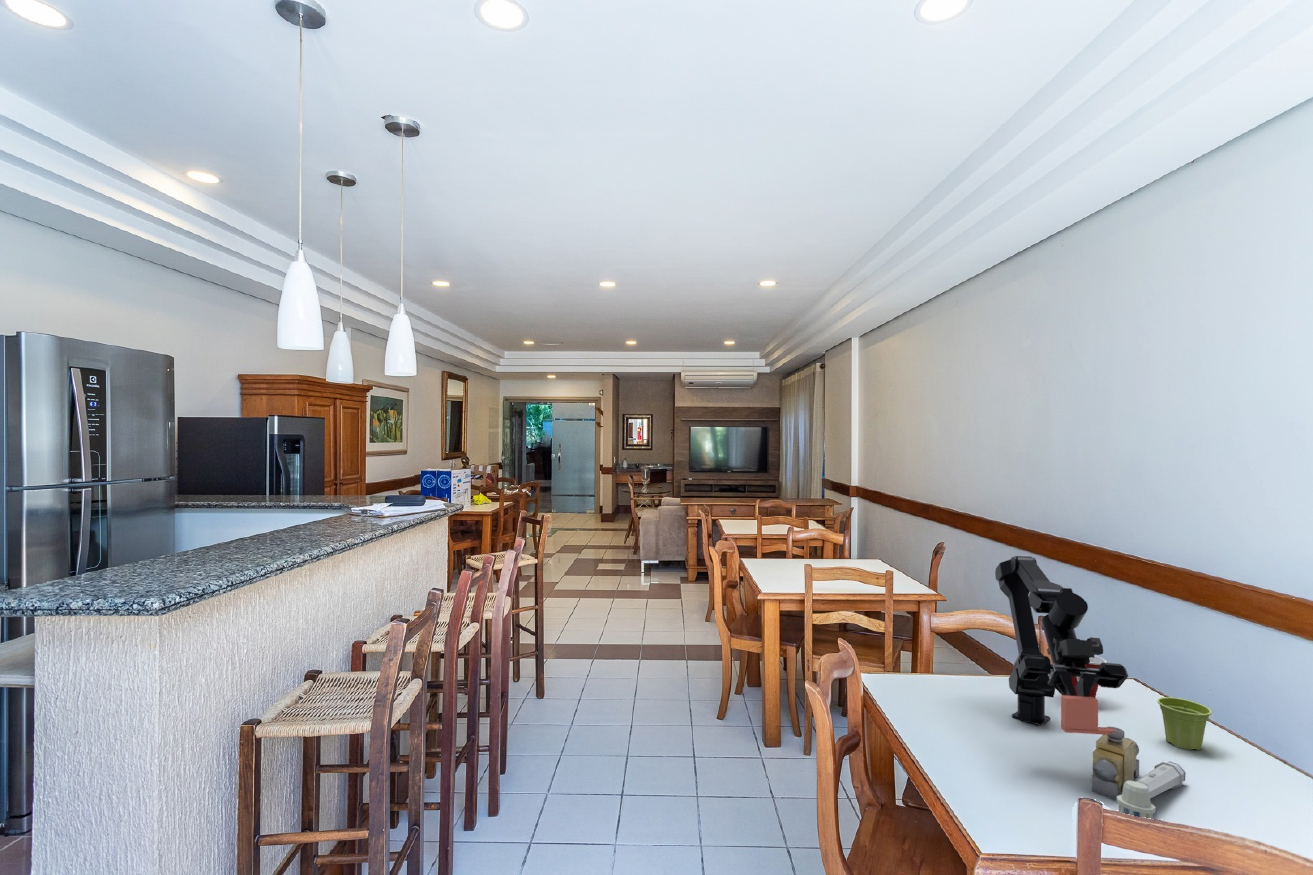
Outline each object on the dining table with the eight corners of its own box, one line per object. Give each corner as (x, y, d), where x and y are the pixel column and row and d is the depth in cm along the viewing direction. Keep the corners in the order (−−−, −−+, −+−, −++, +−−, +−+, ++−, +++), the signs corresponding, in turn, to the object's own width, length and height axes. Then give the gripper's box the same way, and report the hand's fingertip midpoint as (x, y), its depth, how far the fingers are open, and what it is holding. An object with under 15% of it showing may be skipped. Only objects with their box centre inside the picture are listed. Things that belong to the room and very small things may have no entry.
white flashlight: (1190, 766, 125) (1148, 787, 110) (1189, 802, 124) (1147, 828, 109) (1157, 755, 129) (1113, 775, 114) (1156, 790, 129) (1111, 814, 114)
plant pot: (1212, 744, 143) (1212, 705, 143) (1210, 758, 136) (1210, 717, 136) (1159, 731, 149) (1159, 693, 150) (1155, 744, 143) (1155, 705, 143)
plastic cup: (1117, 709, 162) (1117, 661, 162) (1074, 708, 162) (1074, 660, 162) (1089, 693, 173) (1089, 648, 173) (1048, 692, 173) (1048, 647, 173)
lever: (1118, 732, 127) (1118, 696, 127) (1127, 738, 124) (1127, 702, 124) (1059, 728, 128) (1059, 693, 128) (1067, 735, 125) (1067, 699, 125)
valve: (1114, 765, 133) (1114, 720, 133) (1142, 774, 129) (1142, 728, 129) (1089, 791, 122) (1089, 742, 122) (1118, 801, 119) (1118, 751, 119)
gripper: (1023, 617, 134) (1042, 690, 123) (1124, 624, 130) (1152, 700, 119) (1010, 643, 142) (1026, 713, 131) (1105, 651, 138) (1130, 724, 127)
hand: (1082, 712), depth 127 cm, fingers closed
